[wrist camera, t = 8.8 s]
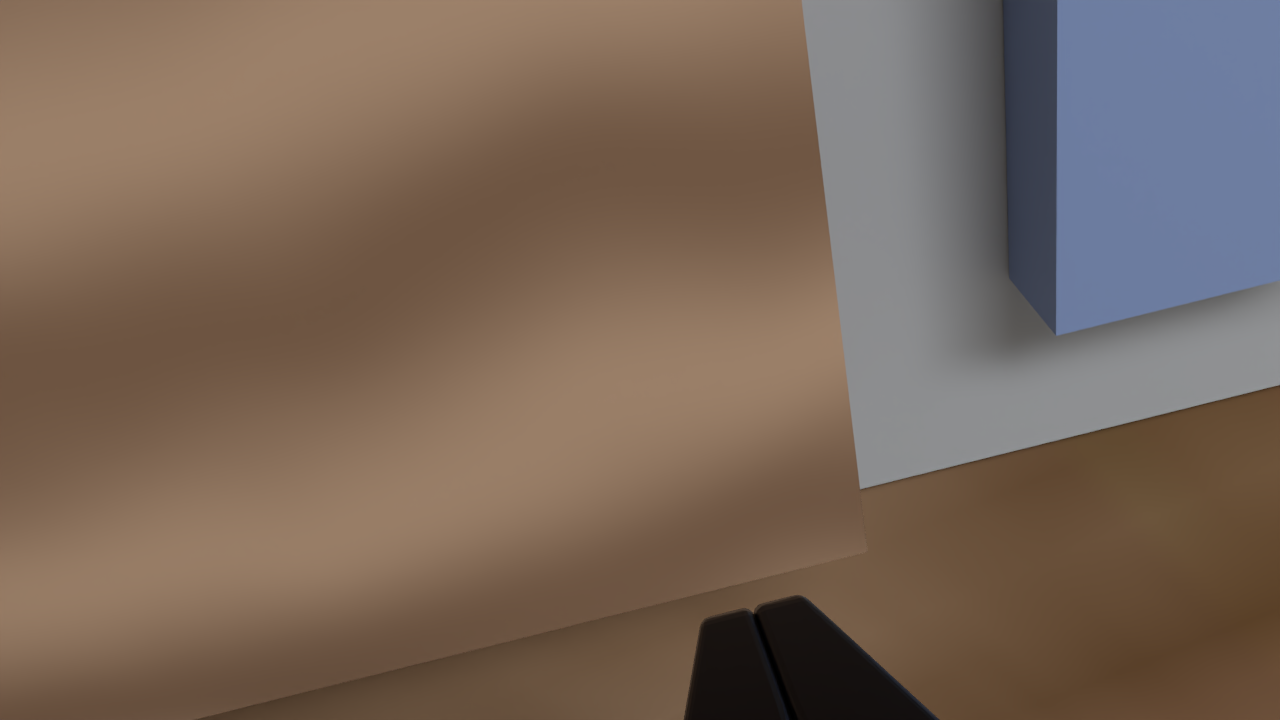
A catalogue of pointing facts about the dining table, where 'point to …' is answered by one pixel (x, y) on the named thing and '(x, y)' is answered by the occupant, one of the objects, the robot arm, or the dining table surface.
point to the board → (398, 334)
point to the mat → (975, 261)
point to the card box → (1140, 153)
